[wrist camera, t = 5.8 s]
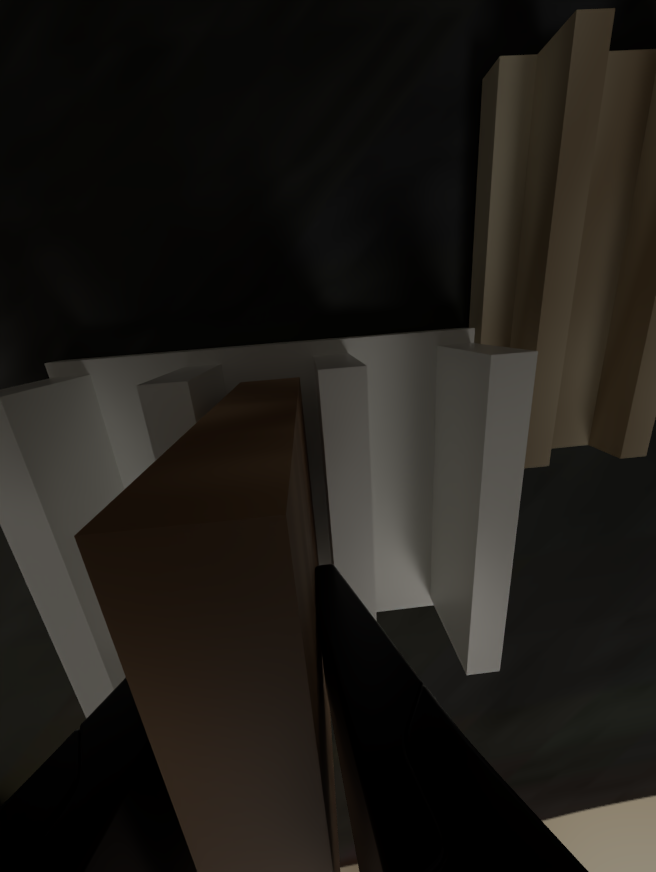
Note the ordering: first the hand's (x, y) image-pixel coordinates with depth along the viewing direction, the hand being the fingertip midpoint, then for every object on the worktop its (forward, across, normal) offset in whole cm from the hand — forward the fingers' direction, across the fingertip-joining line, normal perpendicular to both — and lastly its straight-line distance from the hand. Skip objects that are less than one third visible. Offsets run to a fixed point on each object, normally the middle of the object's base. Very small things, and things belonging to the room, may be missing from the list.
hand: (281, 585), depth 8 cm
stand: (+4, -9, -6) cm, 12 cm away
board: (+3, 0, 0) cm, 3 cm away
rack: (+4, 0, 0) cm, 5 cm away
